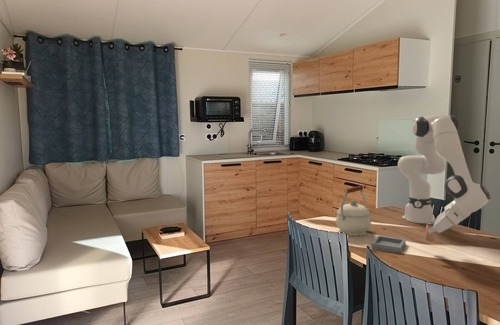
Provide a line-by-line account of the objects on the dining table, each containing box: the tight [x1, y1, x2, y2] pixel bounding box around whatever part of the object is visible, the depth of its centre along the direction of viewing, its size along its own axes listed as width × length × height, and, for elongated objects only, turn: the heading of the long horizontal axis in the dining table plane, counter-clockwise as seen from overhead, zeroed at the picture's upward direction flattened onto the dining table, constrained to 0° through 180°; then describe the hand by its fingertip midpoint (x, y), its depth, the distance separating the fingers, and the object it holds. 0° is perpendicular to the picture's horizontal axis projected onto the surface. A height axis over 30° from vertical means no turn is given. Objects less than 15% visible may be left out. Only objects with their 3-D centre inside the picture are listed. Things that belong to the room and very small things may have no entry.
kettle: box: [335, 185, 372, 237], centre depth 206 cm, size 25×18×25 cm
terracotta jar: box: [425, 222, 437, 242], centre depth 175 cm, size 4×4×8 cm
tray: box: [371, 234, 407, 254], centre depth 183 cm, size 13×13×2 cm
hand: (429, 230), depth 175 cm, fingers closed on terracotta jar, 4 cm apart
